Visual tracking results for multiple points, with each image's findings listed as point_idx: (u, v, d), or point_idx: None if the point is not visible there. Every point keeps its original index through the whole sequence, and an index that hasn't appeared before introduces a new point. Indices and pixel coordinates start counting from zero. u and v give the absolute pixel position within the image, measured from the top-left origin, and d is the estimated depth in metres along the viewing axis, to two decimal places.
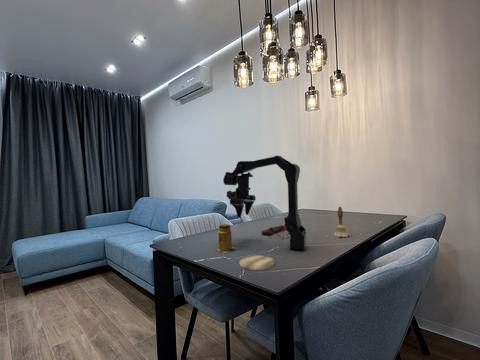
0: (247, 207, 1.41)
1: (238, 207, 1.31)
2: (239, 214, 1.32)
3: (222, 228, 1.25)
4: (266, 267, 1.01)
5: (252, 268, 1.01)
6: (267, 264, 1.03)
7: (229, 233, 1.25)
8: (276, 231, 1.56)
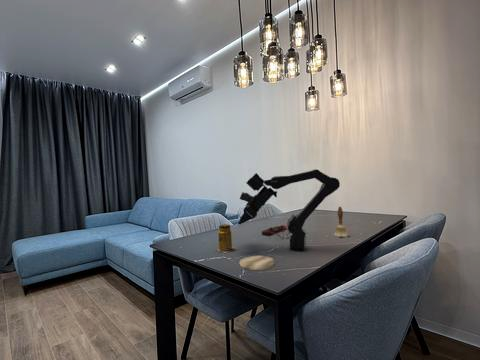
0: None
1: (246, 215, 1.21)
2: (242, 221, 1.21)
3: (222, 228, 1.25)
4: (266, 267, 1.01)
5: (252, 268, 1.01)
6: (267, 264, 1.03)
7: (229, 233, 1.25)
8: (276, 231, 1.56)
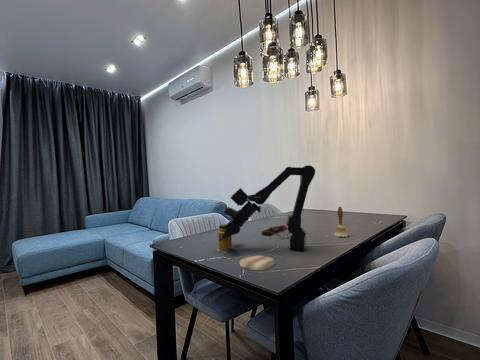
0: None
1: (230, 230, 1.22)
2: (225, 236, 1.23)
3: (222, 228, 1.25)
4: (266, 267, 1.01)
5: (252, 268, 1.01)
6: (267, 264, 1.03)
7: None
8: (276, 231, 1.56)
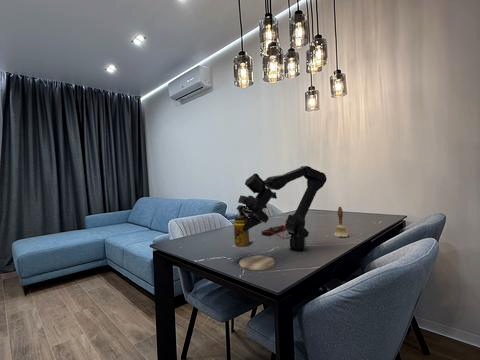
0: None
1: (252, 221, 1.08)
2: (247, 228, 1.08)
3: (241, 220, 1.08)
4: (266, 267, 1.01)
5: (252, 268, 1.01)
6: (267, 264, 1.03)
7: None
8: (276, 231, 1.56)
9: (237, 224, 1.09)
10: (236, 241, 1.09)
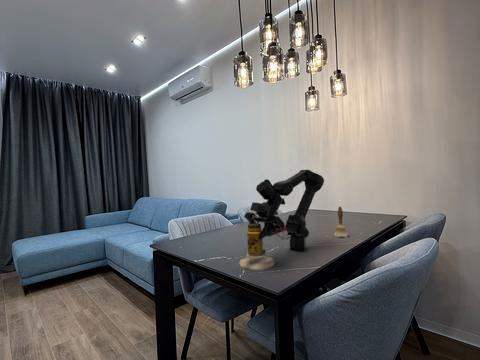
0: None
1: (268, 228, 1.05)
2: (263, 236, 1.04)
3: (257, 228, 1.04)
4: (266, 267, 1.01)
5: (252, 268, 1.01)
6: (267, 264, 1.03)
7: None
8: (276, 231, 1.56)
9: (252, 232, 1.04)
10: (251, 250, 1.04)
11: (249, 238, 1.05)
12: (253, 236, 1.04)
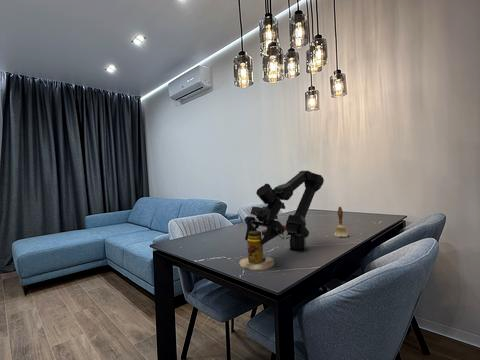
0: None
1: (270, 233, 1.04)
2: (265, 241, 1.03)
3: (257, 235, 1.04)
4: (266, 267, 1.01)
5: (252, 268, 1.01)
6: (267, 264, 1.03)
7: None
8: None
9: (253, 240, 1.04)
10: (251, 258, 1.04)
11: (249, 246, 1.05)
12: (253, 244, 1.04)
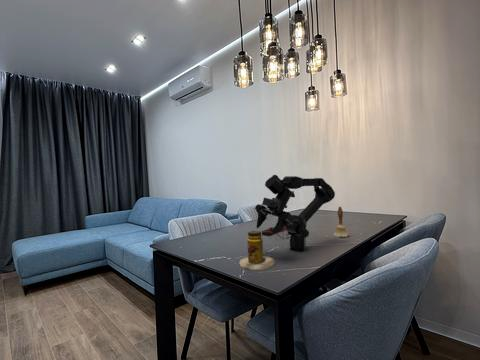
0: (261, 220, 1.18)
1: (281, 223, 1.11)
2: (276, 230, 1.11)
3: (257, 235, 1.04)
4: (266, 267, 1.01)
5: (252, 268, 1.01)
6: (267, 264, 1.03)
7: None
8: None
9: (253, 240, 1.04)
10: (251, 258, 1.04)
11: (249, 246, 1.05)
12: (253, 244, 1.04)
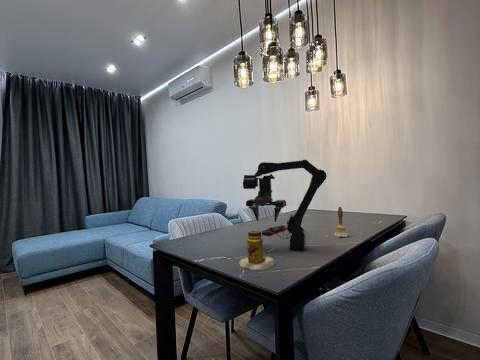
0: (257, 212, 1.29)
1: (277, 210, 1.24)
2: (277, 217, 1.25)
3: (257, 235, 1.04)
4: (266, 267, 1.01)
5: (252, 268, 1.01)
6: (267, 264, 1.03)
7: None
8: (276, 231, 1.56)
9: (253, 240, 1.04)
10: (251, 258, 1.04)
11: (249, 246, 1.05)
12: (253, 244, 1.04)
